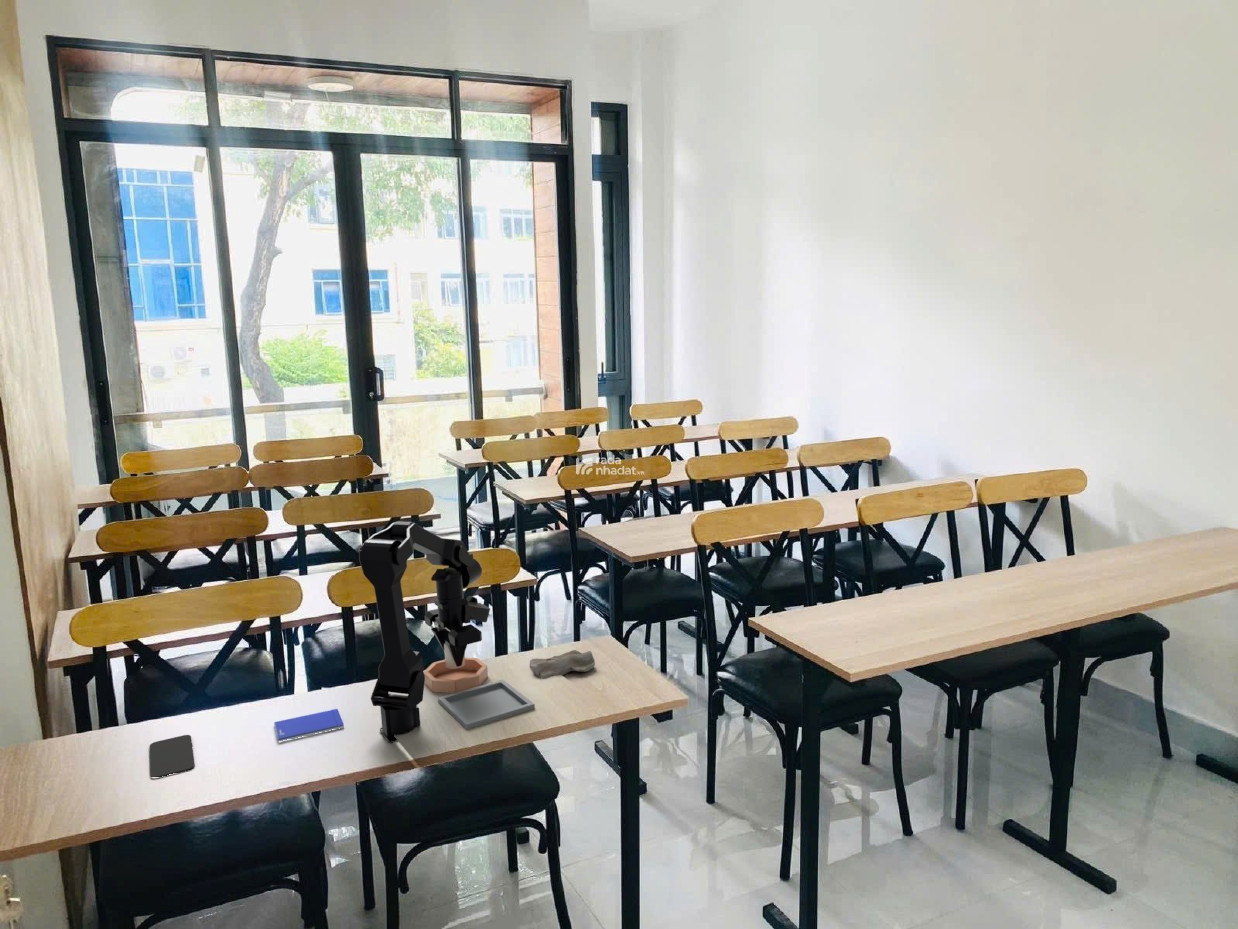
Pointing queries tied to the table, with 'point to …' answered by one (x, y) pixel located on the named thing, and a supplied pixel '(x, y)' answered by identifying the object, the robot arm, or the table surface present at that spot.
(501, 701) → the parts tray
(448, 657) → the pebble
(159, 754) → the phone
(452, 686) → the bowl
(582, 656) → the stone
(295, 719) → the hard drive
